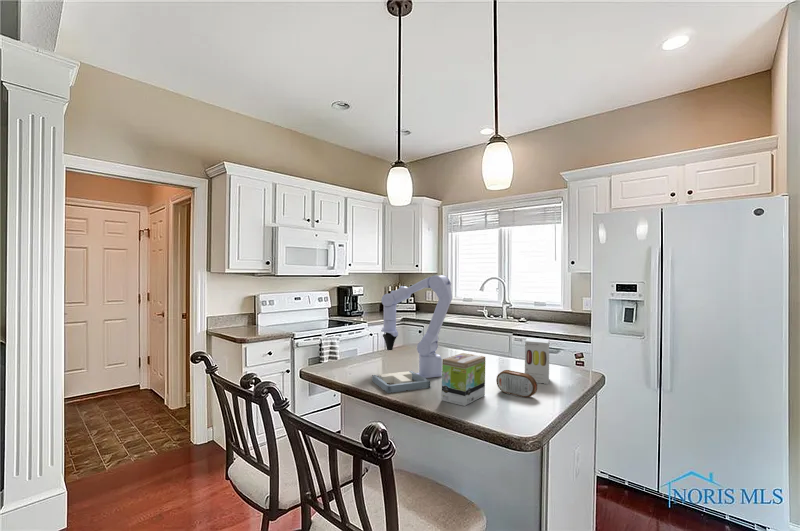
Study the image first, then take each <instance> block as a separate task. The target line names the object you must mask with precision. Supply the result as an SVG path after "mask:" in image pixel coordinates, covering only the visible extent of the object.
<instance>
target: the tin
mask: <svg viewBox="0 0 800 531" xmlns="http://www.w3.org/2000/svg"><path fill="white" fill-rule="evenodd" d="M496 385H497V387H498V389H499V390H500V391H501V392H502V393H504V394H508V395H512V396H517V397H521V398H530V397H532V396H534V395H535V394H536V393H537V391H538V383H536V381H535V379H534V378H533V377H532V376H531V375H529V374H526V373H525V372H521V371H520V372H519V371H514V370H511V369H505V370H502V371H501V372H500V373H498V374H497V376H496Z"/></svg>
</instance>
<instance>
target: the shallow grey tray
mask: <svg viewBox="0 0 800 531" xmlns="http://www.w3.org/2000/svg"><path fill="white" fill-rule="evenodd" d="M408 372H410V373H412V382H409V383H401V384H394V383H391V384H387V383H386V382H384V381H383V380H382V379H380V378H379V376H377V375H376V374H372V376H371V377H372V378H371V380H372V383H373V384H375V385H377V386H378V387H379V388H380V387H381V388H380V389H382V390H383V391H384V390H385V391H384V392H386V393H387V394H390V393H391V392H392V393H399V392H406V390H408V391H413V390H414V391H416V390H421V389H430V388H431V380H430V379H428V378H424V377H422V376H420V375H418V374H416V373H417V372H415V371H412V370H409V371H408Z"/></svg>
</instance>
